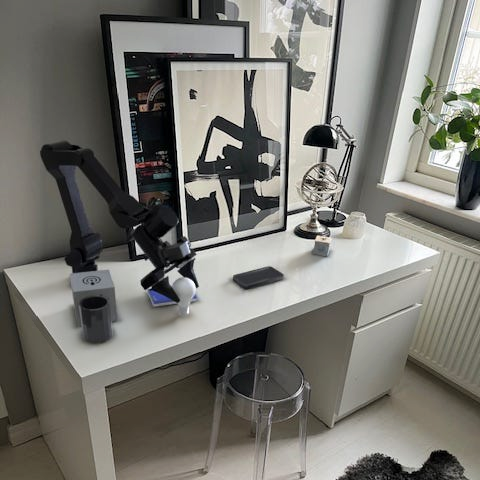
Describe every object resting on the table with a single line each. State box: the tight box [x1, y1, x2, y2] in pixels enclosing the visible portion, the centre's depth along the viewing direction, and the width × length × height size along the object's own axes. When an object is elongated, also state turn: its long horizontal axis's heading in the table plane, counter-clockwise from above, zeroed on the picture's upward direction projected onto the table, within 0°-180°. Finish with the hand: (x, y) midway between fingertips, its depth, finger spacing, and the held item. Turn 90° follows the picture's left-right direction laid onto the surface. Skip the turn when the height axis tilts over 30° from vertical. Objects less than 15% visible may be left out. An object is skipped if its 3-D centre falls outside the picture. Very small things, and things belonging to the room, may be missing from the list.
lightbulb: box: [171, 276, 197, 317], centre depth 132 cm, size 6×6×11 cm
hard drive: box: [146, 285, 198, 308], centre depth 142 cm, size 2×8×12 cm
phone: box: [232, 265, 285, 290], centre depth 155 cm, size 8×1×15 cm
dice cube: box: [312, 234, 332, 257], centre depth 174 cm, size 5×5×5 cm
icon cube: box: [69, 269, 118, 327], centre depth 130 cm, size 10×10×10 cm
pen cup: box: [79, 295, 113, 344], centre depth 122 cm, size 7×7×10 cm
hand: (188, 294), depth 131 cm, fingers open, 9 cm apart
